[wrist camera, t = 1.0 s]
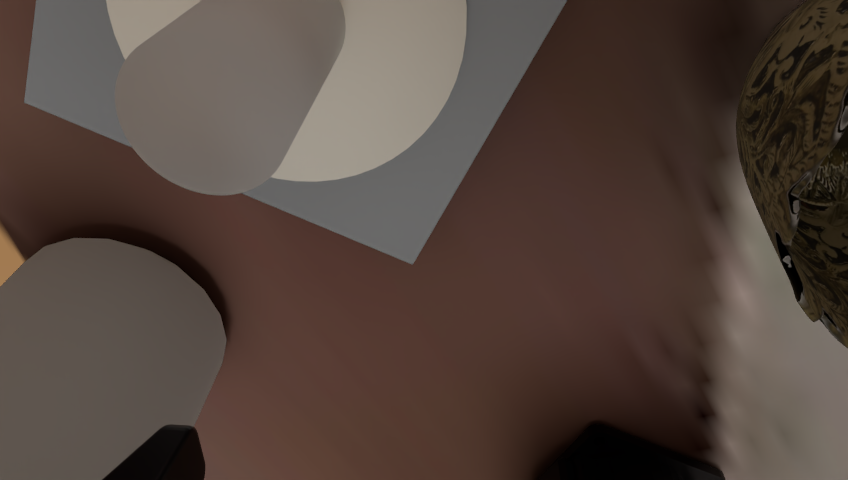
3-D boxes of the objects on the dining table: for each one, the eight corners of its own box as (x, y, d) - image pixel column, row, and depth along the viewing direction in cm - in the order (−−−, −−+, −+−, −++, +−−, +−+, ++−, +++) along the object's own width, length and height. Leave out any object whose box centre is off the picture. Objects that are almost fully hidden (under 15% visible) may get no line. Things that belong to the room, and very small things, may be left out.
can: (-12, 235, 22) (-401, 580, 12) (190, 210, 21) (-57, 566, 11) (86, 387, 26) (-147, 738, 16) (260, 373, 25) (123, 740, 15)
